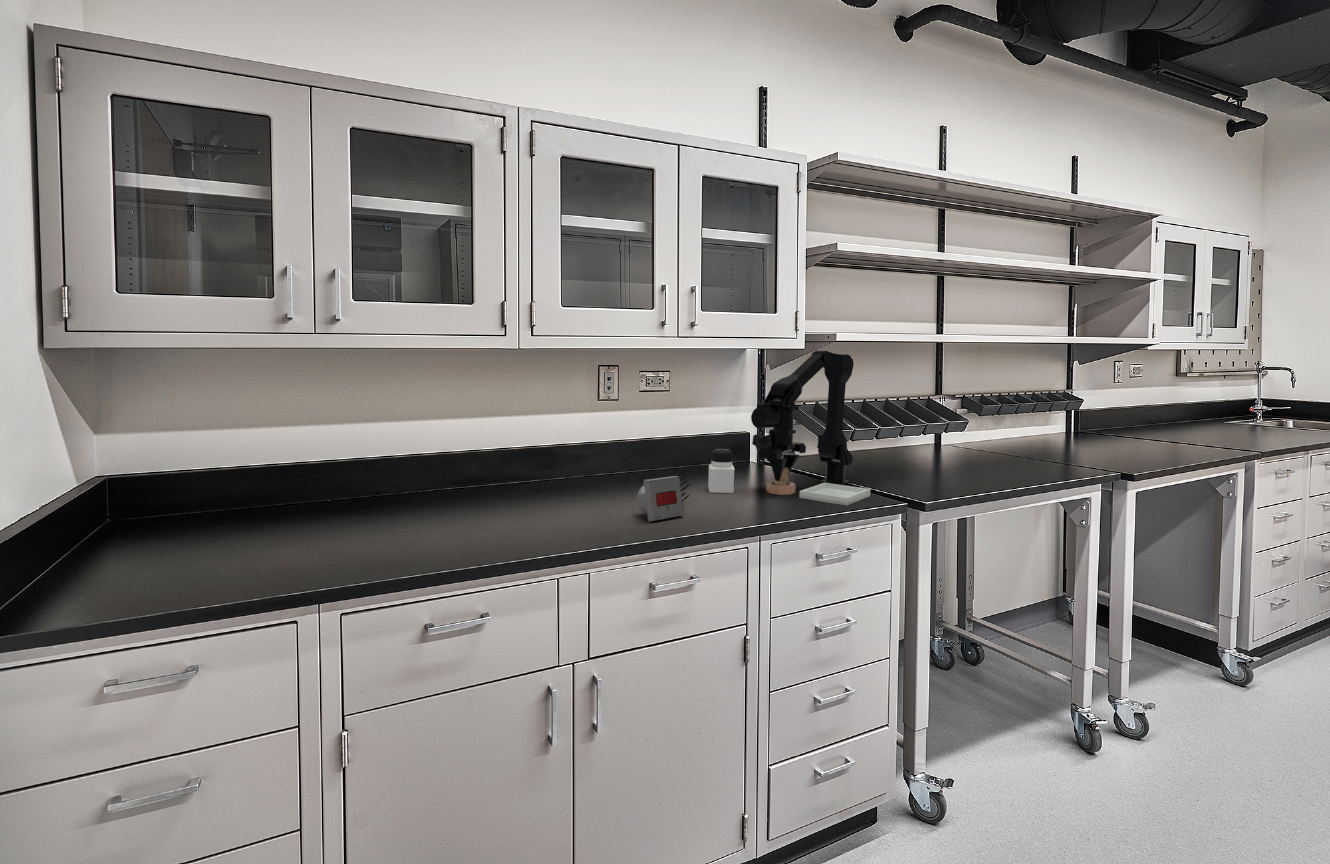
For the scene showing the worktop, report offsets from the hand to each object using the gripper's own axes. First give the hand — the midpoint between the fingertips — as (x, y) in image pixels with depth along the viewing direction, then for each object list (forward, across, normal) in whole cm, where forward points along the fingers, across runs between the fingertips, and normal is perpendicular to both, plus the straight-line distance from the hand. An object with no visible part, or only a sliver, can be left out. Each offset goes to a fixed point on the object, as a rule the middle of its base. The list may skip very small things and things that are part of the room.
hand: (781, 479), depth 201 cm
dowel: (+4, 0, 0) cm, 4 cm away
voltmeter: (+4, +40, -9) cm, 41 cm away
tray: (+4, -4, +15) cm, 16 cm away
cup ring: (+4, 0, 0) cm, 4 cm away
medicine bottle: (+4, +10, -14) cm, 18 cm away
